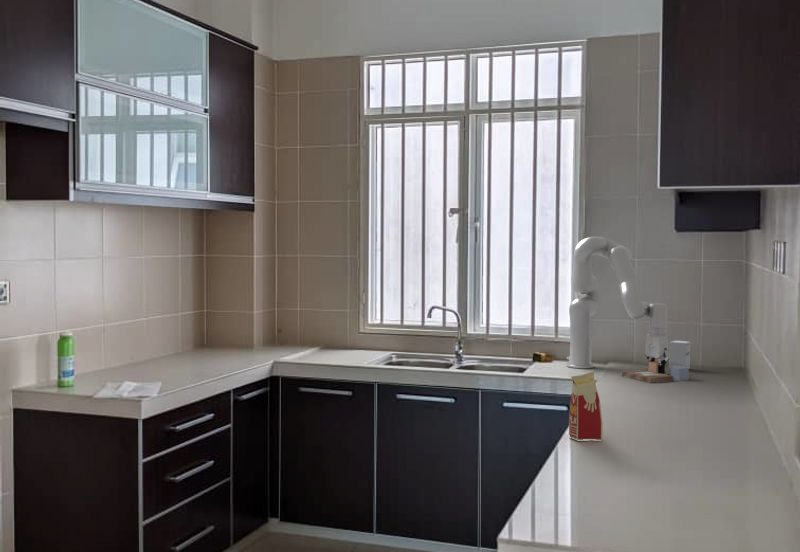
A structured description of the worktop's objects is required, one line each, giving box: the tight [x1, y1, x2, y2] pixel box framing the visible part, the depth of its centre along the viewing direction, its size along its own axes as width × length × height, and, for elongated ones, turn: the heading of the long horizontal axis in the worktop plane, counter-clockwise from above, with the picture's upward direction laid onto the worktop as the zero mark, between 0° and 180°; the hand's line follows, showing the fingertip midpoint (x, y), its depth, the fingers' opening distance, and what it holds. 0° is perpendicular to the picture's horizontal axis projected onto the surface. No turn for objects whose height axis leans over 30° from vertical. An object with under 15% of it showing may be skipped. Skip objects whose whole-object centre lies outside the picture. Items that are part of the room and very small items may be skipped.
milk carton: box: [568, 370, 604, 441], centre depth 240 cm, size 9×9×20 cm
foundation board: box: [621, 369, 674, 384], centre depth 343 cm, size 18×12×2 cm, turn 23°
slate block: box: [670, 366, 690, 381], centre depth 342 cm, size 5×5×5 cm
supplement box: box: [668, 340, 691, 370], centre depth 367 cm, size 7×7×13 cm
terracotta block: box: [647, 360, 659, 373], centre depth 355 cm, size 5×5×5 cm
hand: (656, 372), depth 355 cm, fingers closed on terracotta block, 5 cm apart
